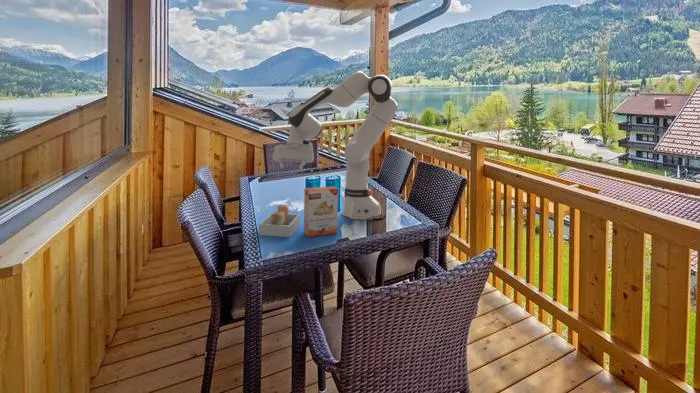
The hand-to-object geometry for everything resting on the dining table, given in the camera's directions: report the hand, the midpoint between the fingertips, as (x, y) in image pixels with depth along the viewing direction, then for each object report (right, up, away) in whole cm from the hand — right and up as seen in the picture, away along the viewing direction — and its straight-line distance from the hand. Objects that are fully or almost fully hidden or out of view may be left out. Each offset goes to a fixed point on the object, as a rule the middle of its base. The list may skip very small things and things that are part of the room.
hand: (290, 167), depth 196 cm
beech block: (-3, -29, -16) cm, 33 cm away
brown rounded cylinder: (-2, -27, -8) cm, 28 cm away
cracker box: (+16, -31, -15) cm, 38 cm away
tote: (-3, -29, -11) cm, 31 cm away
